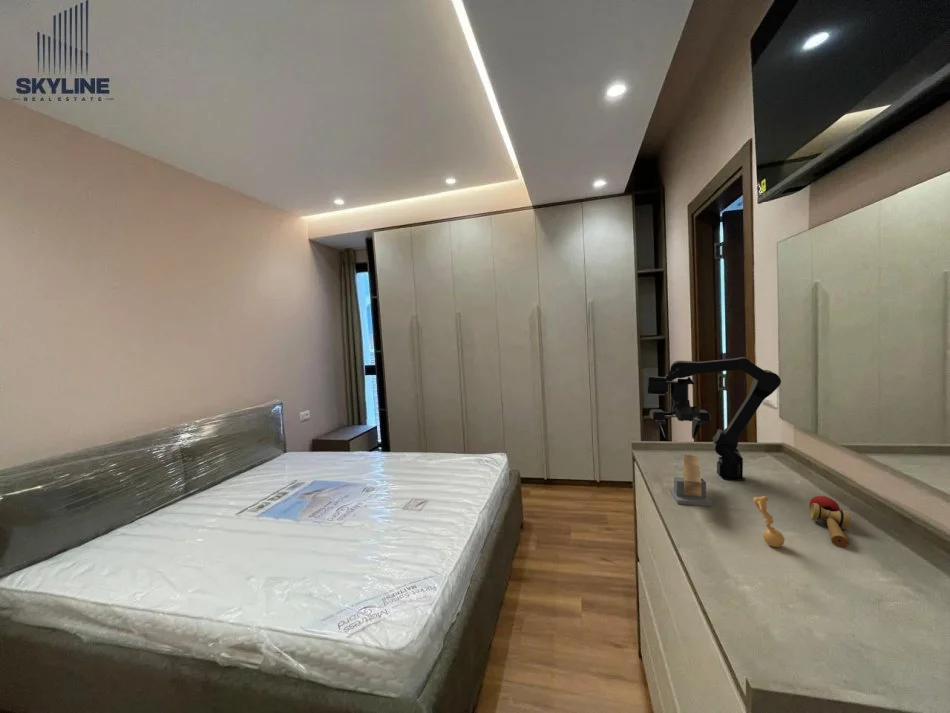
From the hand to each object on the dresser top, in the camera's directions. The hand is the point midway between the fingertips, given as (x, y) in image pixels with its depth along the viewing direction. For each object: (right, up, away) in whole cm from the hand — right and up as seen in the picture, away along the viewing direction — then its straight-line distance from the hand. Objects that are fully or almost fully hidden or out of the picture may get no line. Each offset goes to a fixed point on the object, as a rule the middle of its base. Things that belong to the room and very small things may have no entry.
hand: (679, 438), depth 133 cm
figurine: (-3, -16, -44) cm, 47 cm away
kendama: (+17, -15, -39) cm, 45 cm away
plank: (-8, -8, -21) cm, 24 cm away
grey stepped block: (-8, -14, -20) cm, 26 cm away
